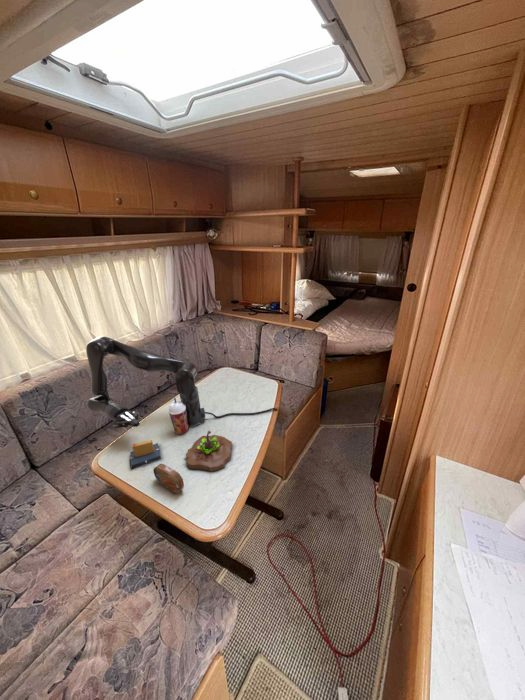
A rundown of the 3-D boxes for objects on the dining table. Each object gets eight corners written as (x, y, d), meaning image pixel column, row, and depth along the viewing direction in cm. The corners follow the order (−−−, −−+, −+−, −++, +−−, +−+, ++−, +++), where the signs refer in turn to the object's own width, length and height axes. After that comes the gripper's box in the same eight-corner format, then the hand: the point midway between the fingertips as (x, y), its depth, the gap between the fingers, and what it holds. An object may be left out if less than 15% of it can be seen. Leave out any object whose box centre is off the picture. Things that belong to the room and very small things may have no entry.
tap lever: (154, 449, 124) (151, 439, 122) (154, 452, 123) (151, 441, 121) (135, 454, 122) (132, 444, 120) (135, 457, 121) (132, 446, 118)
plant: (237, 441, 131) (236, 422, 126) (224, 474, 113) (221, 453, 109) (198, 436, 135) (196, 417, 130) (180, 467, 117) (176, 447, 113)
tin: (154, 480, 112) (150, 464, 108) (161, 474, 114) (157, 459, 111) (180, 496, 104) (177, 480, 101) (186, 490, 107) (183, 474, 103)
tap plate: (158, 444, 131) (157, 440, 130) (161, 461, 121) (160, 457, 120) (130, 452, 126) (129, 449, 125) (132, 471, 116) (130, 468, 115)
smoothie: (193, 426, 141) (187, 394, 133) (184, 437, 134) (176, 404, 126) (179, 423, 144) (172, 392, 136) (169, 434, 137) (161, 401, 129)
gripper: (100, 413, 126) (121, 426, 117) (127, 399, 136) (148, 410, 127) (105, 426, 129) (126, 439, 120) (130, 411, 139) (151, 423, 130)
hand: (137, 424), depth 124 cm, fingers closed
